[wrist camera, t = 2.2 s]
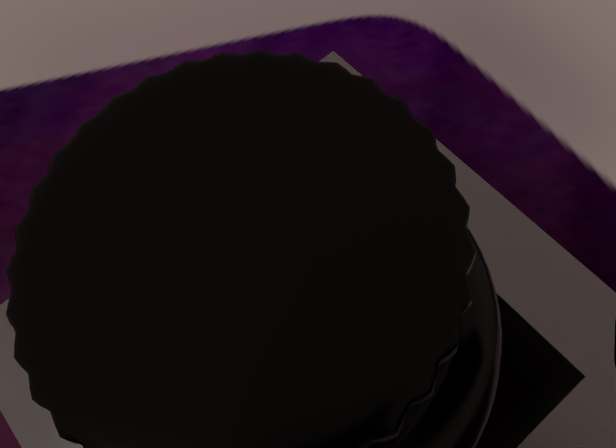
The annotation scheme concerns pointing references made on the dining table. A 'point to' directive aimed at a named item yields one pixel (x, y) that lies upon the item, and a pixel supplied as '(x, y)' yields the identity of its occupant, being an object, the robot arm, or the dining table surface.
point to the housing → (514, 323)
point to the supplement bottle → (255, 269)
